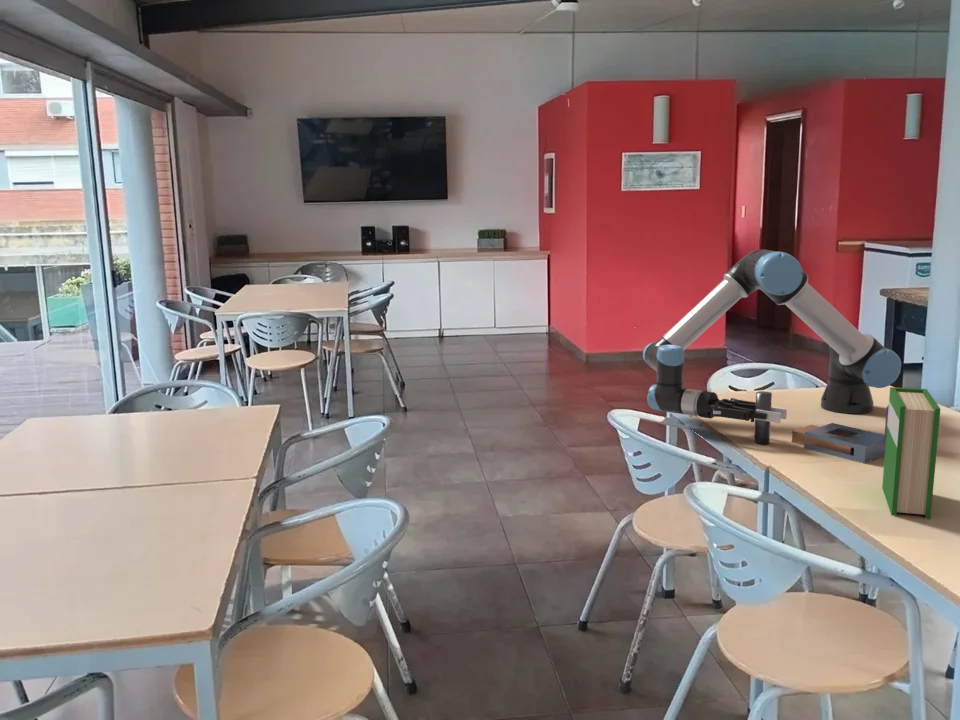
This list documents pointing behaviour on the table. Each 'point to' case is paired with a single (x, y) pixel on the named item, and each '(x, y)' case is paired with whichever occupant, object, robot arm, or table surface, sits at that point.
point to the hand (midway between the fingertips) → (782, 415)
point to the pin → (761, 426)
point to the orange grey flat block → (841, 441)
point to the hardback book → (910, 451)
